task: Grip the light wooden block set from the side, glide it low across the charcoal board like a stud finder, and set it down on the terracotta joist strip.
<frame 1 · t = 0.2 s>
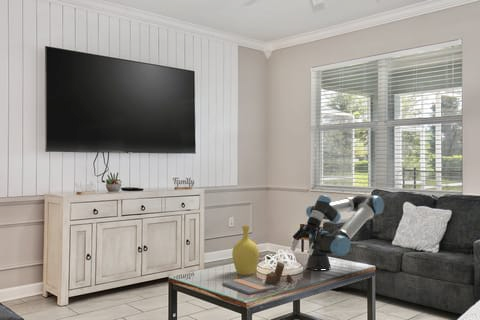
hand: (300, 252, 258), 15 cm above the table, tool tilted 35°, fingers open, 13 cm apart
vase: (245, 273, 273), on the table
wooden block set: (277, 283, 250), on the table
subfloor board: (248, 286, 241), on the table
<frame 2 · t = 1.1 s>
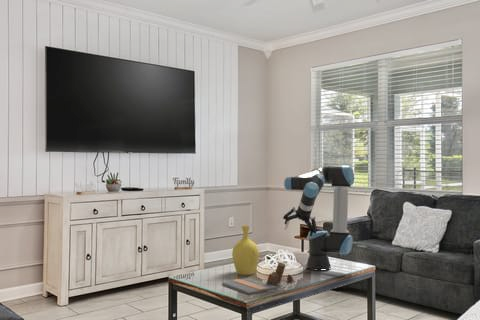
hand: (296, 233, 261), 25 cm above the table, tool tilted 40°, fingers open, 13 cm apart
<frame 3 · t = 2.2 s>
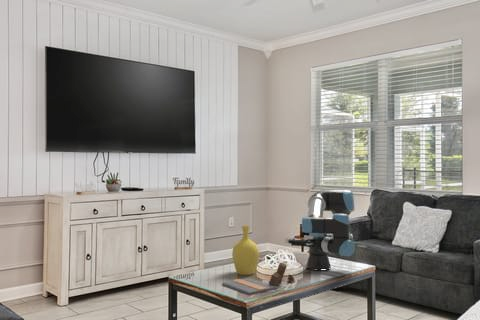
hand: (295, 239, 239), 26 cm above the table, tool horizontal, fingers open, 13 cm apart
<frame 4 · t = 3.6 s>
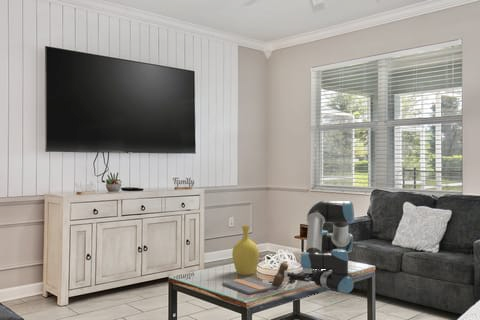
hand: (294, 271, 239), 9 cm above the table, tool horizontal, fingers open, 13 cm apart
wooden block set: (281, 284, 249), on the table
everything else where it was.
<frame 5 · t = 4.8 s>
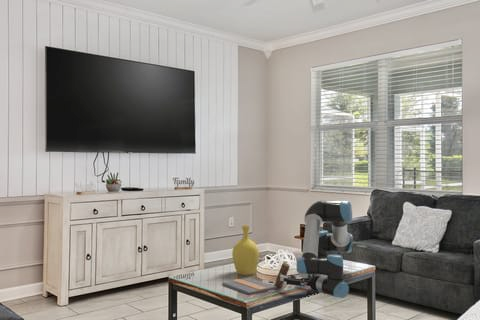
hand: (290, 275, 242), 6 cm above the table, tool horizontal, fingers open, 13 cm apart
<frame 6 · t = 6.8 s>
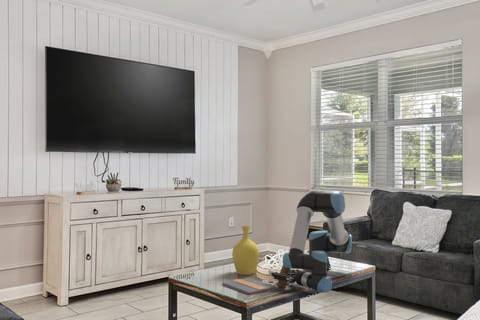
hand: (276, 271, 251), 6 cm above the table, tool horizontal, fingers open, 10 cm apart
wooden block set: (285, 284, 247), on the table, touching gripper
everything else where it was.
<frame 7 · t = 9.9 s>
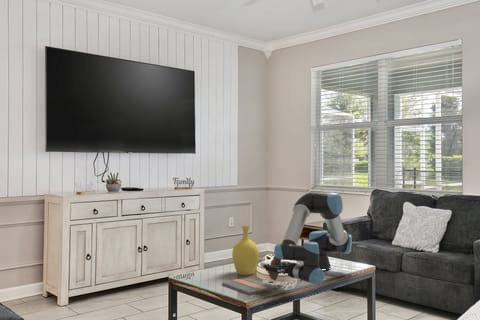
hand: (267, 263, 247), 11 cm above the table, tool horizontal
wooden block set: (275, 276, 242), point 5 cm above the table, touching gripper, hand
everything else where it was.
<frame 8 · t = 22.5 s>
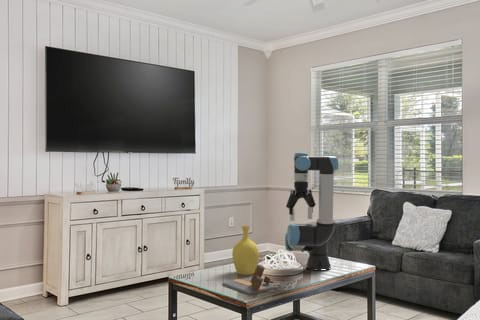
hand: (301, 219, 249), 35 cm above the table, tool pointing down, fingers open, 13 cm apart
wooden block set: (258, 287, 236), point 1 cm above the table, touching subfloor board
everything else where it was.
at the end: wooden block set inside the target area (5.2 cm from its centre), point 1.3 cm above the table; wooden block set tilted 0°; the gripper is holding nothing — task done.
